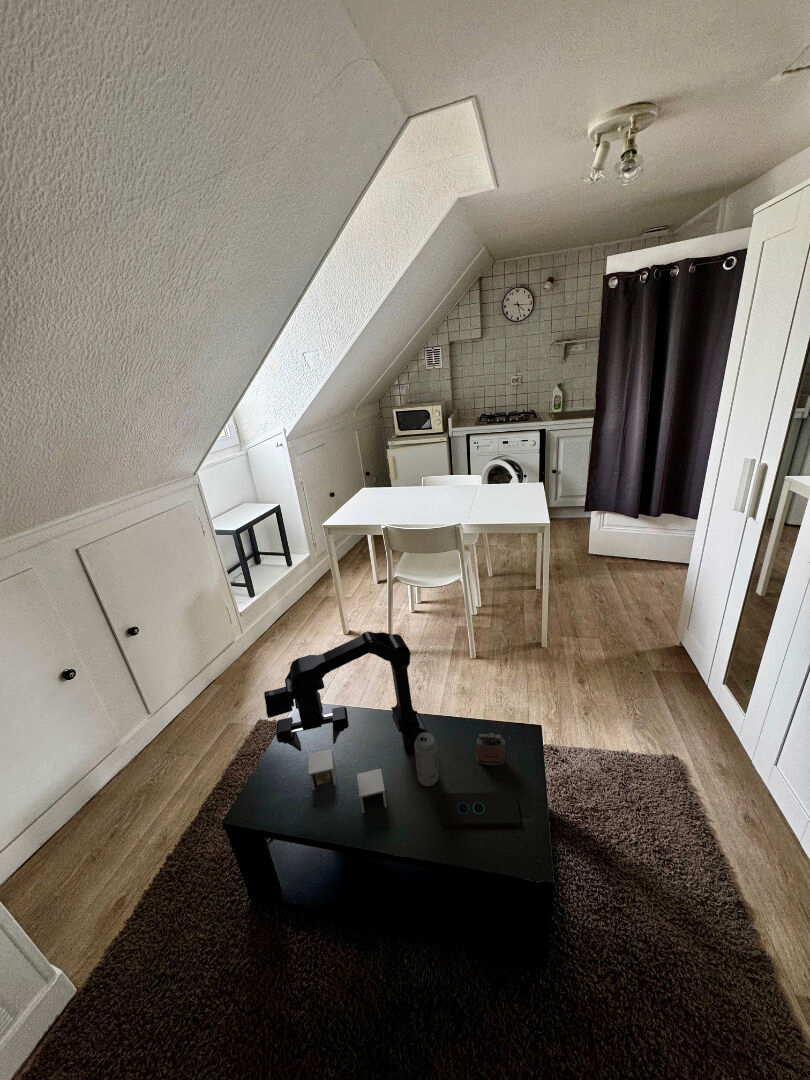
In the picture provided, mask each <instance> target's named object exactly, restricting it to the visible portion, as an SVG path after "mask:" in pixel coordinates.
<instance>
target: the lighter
mask: <svg viewBox="0 0 810 1080" xmlns="http://www.w3.org/2000/svg"><path fill="white" fill-rule="evenodd" d="M475 742H476V743H475V744H476V763H478V764H480V765H485V766H500V765H504V764H505V763H506V762H505V761H506V758H505V747H506V741H505V738H503V737H502V736H501V734H499V733H498V734H495V732H489V733H479V734H478V737H477V738H476V741H475Z"/></svg>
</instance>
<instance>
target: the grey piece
mask: <svg viewBox="0 0 810 1080" xmlns="http://www.w3.org/2000/svg"><path fill="white" fill-rule="evenodd" d="M326 771H331V779H332V783H333V785H334V786H337V781H336V780H337V778H336V777H337V775H336V763H335V758H334V752H333V749H332V748H328V749H325V750H320V751H316V752H312V753H309V754H308V776H309V781H310V785H311V789H312V791H315V786H316V785H315V782H316V777H315V774H318V773H322V772H326Z"/></svg>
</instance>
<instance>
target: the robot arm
mask: <svg viewBox="0 0 810 1080" xmlns="http://www.w3.org/2000/svg"><path fill="white" fill-rule="evenodd" d="M368 654H372V655H375V656H377V657H379V658H380V659H382V660H384V661H387V662H389V664H390V668H391V672H392V678H393V679H392V681H393V685H394V693H395V697H396V699H395V700H396V704H395V706H391V708H390V709H391V711H392V712H391V713H392V715H391V717H392V719H393V722H394V724H395V726H396V729H397V730H398V732H399V733H401V738H402V739H401V740H402V745H403V748H404V749H405V752H406V755H408V756H410V755H414V754H415V745H414V744H415V740H416V738H417V736H418V735H419V734H420V733H423V732H428V729H427V728H426V726H425V724H424V722H423V720H422V718H421V716H420V714H419V712H418V711H417V710H414V708H413V705H412V704H413V703H412V702H413V701H412V695H411V687H410V681H409V679H410V678H409V674H408V673H409V672H408V667H409V665H410V663H411V650H410V648H409V647H408V645H407V644H406V642H405V640H404V639H403V636H401V635H400V634H397V633H394V634H392V633H386V632H384V631H383V632H381V631H380V632H373V631H364V632H363V633H362V634H361V635H359V636H357V637H355V638H353V639H351V640H348V641H347V642H344V643H342V644H341V645H338V646H336V647H334V648H332V649H329V650H328V651H325V652H324V653H321V654H308V655H305V656H302V657H298V658H296V659H293V661H292V662H291V665H290V667H289V672H288V673H287V675H286V677H285V679H284V683H285V686H282V687H279V688H276V689H272V690H267V691H264V692H263V694H264V696H263V697H264V700H265V701H264V703H265V711H266V716H267V719H271V718H273V717H274V718H275V717H278V716H280V715H284V714H287V713H290V712H293V707H295V709H297V710H298V715H299V719H300V721H297V722H294V719H293V716H290V717H286V718H285V717H284V718H280V719H278V720H277V722H276V730H275V738H276V741H277V743H279V744H280V743H283V744H286V745H287V744H288V745H290V746H292V747H293V748H294V749H296V750H297V751H298V752H302V745H301V741H300V738H299V736H298V732H302V731H303V732H304V731H308V730H313V729H318V728H322V725H327V724H331V723H332V743H333V745H335V744H336V743H337V739H338V737H339V735H340V733H341V732H344V731H345V729H346V730H347V729H348V728H349V727H350V726H349V715H348V709H347V707H346V706H345V705H343V706H339V707H333V708H331V713H328V714H323V713H324V709H323V703H322V699H321V693H320V692H318V691H320V690H323V689H325V683H324V680H323V678H325V676H326V675H327V674H328V673H330V672H333V671H335V670H336V669H339V668H341V667H343V666H344V665H346V664H349V663H351V662H352V661H353V662H354V661H355V660H357V659H360V658H361V657H363V656H366V655H368ZM428 733H429V732H428Z"/></svg>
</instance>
